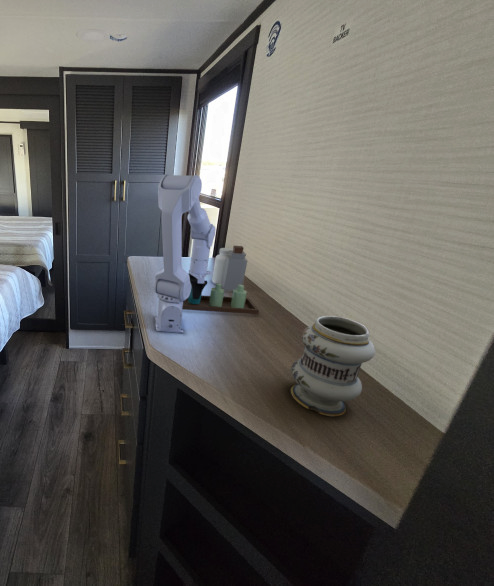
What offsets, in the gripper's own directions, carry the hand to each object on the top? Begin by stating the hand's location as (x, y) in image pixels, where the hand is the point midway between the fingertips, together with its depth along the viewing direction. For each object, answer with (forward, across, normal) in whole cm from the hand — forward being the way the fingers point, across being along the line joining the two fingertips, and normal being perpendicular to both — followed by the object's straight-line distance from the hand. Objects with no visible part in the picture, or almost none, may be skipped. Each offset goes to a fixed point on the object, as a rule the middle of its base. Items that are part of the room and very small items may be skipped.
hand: (194, 296), depth 110 cm
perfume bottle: (+4, +20, -18) cm, 27 cm away
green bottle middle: (+3, 0, -8) cm, 8 cm away
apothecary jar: (+4, -47, -19) cm, 51 cm away
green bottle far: (+3, 0, -15) cm, 15 cm away
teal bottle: (+2, 0, 0) cm, 2 cm away
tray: (+4, 0, -8) cm, 8 cm away
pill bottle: (+4, +28, -16) cm, 33 cm away
